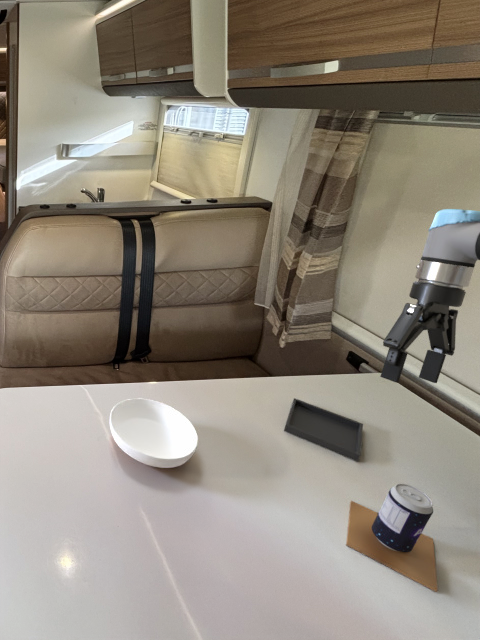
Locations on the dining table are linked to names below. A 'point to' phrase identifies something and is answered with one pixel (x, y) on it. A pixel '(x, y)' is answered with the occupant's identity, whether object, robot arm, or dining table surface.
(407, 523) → the beverage can
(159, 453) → the bowl
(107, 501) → the dining table surface
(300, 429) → the tray
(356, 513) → the trivet
